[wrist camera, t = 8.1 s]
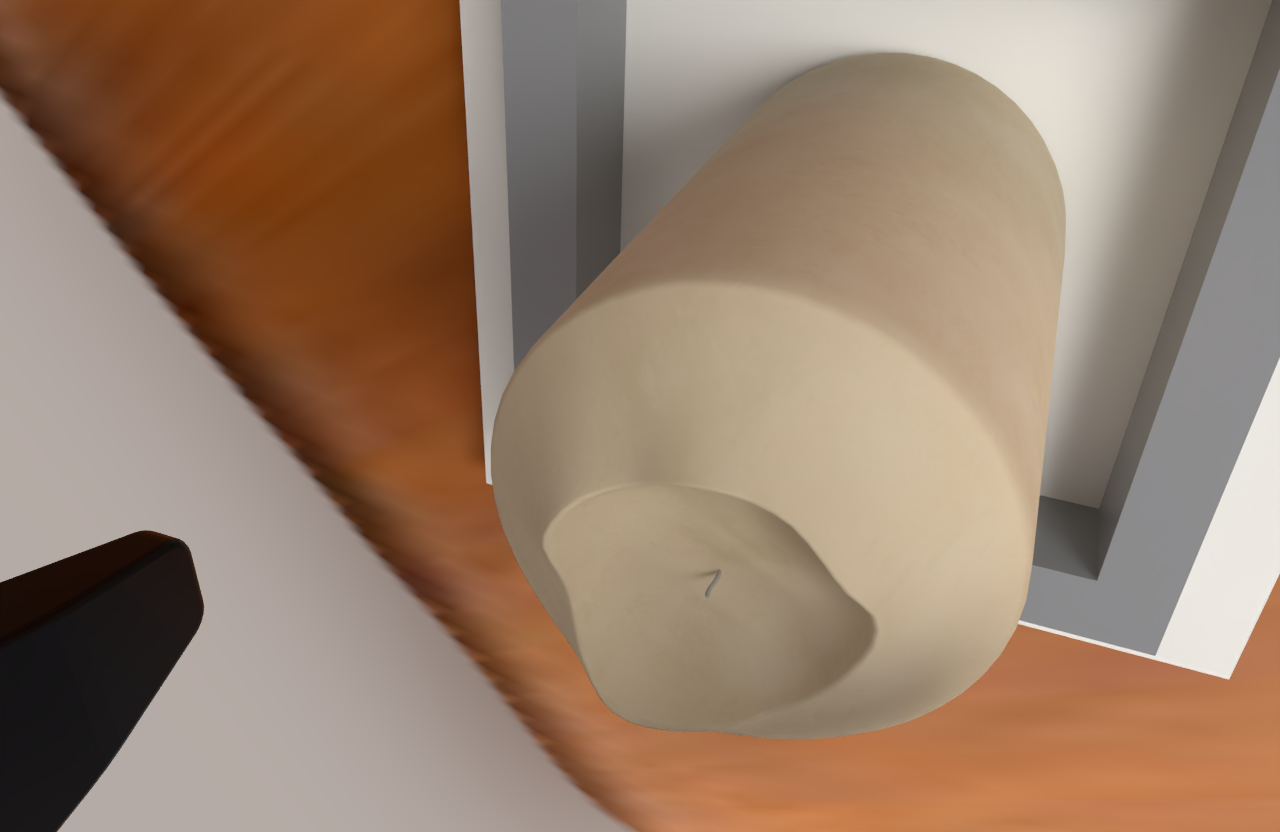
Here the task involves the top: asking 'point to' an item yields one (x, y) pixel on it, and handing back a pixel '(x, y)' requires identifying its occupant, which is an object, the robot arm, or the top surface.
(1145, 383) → the candle tray
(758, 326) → the candle
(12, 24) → the top surface
